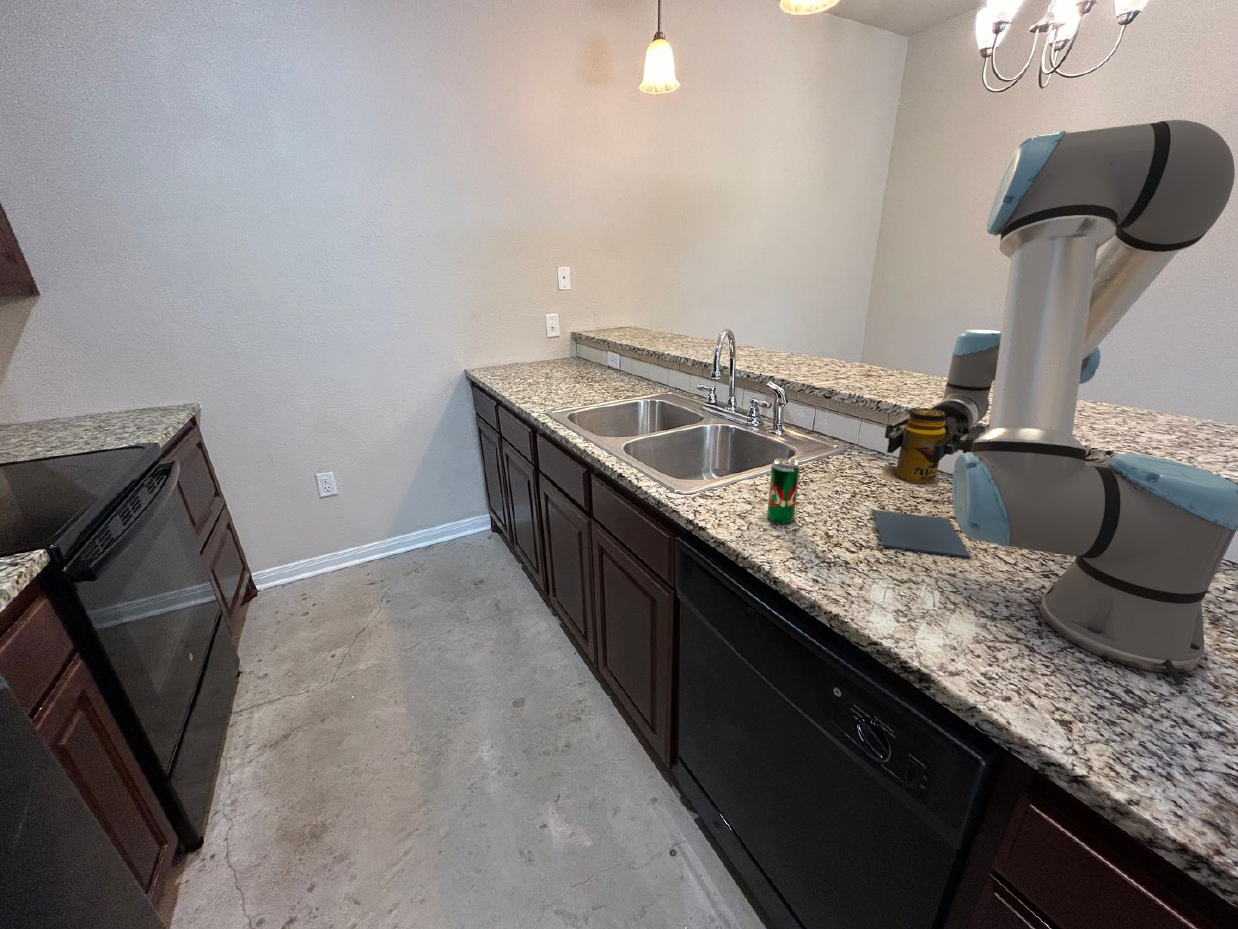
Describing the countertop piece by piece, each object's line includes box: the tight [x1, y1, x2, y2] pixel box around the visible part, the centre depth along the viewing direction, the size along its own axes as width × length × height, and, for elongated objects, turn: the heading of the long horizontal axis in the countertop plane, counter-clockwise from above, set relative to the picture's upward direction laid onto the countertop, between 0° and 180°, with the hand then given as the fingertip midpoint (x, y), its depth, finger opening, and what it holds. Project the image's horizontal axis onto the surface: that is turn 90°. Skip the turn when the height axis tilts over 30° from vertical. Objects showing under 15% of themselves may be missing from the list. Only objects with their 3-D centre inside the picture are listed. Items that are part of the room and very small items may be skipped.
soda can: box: [766, 457, 801, 525], centre depth 95 cm, size 5×5×12 cm
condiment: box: [879, 407, 946, 489], centre depth 85 cm, size 7×8×12 cm
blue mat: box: [872, 510, 971, 559], centre depth 91 cm, size 14×13×1 cm
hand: (913, 449), depth 81 cm, fingers closed on condiment, 6 cm apart
